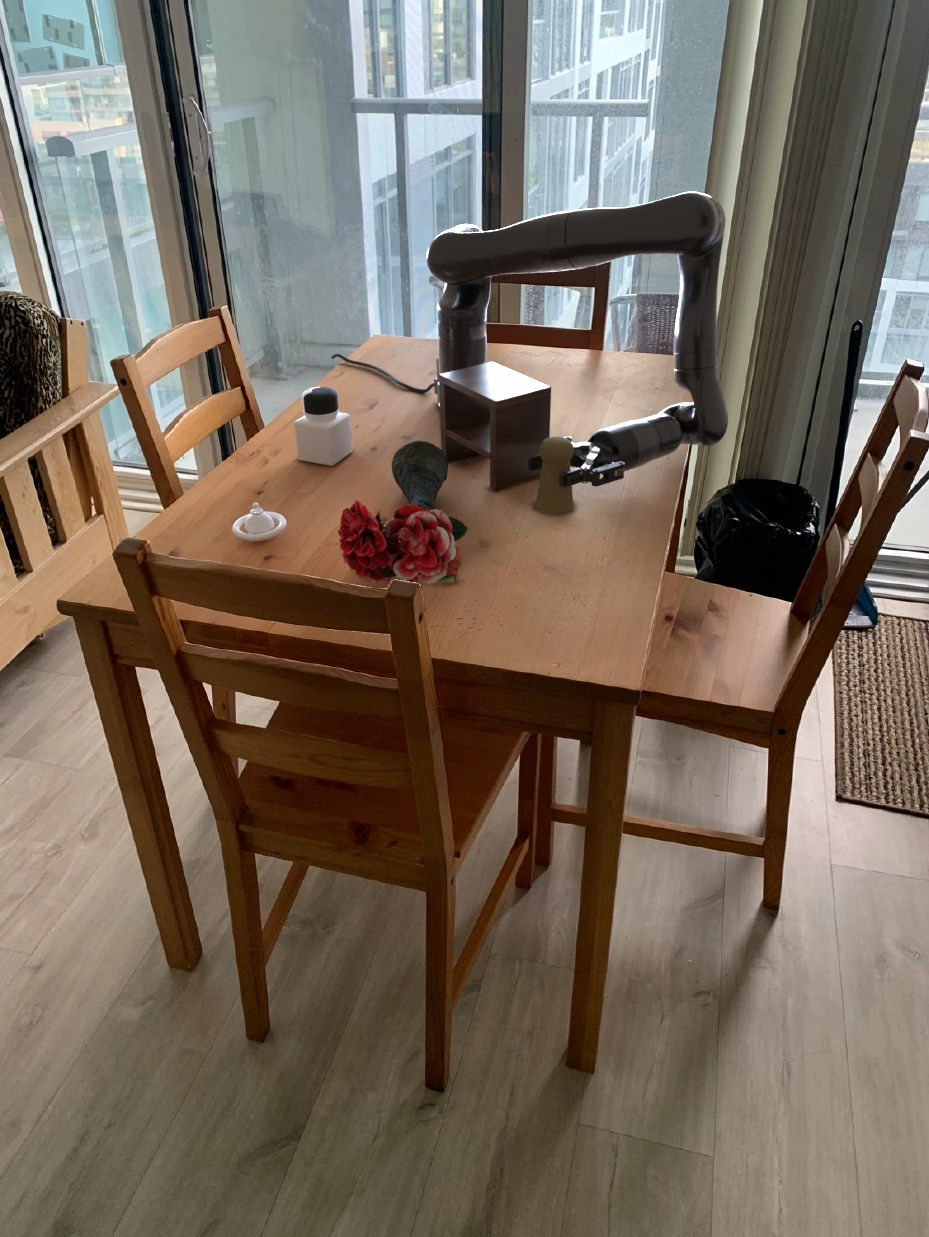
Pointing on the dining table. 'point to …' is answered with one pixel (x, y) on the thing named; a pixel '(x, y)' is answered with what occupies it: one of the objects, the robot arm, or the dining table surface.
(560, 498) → the cork
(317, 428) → the medicine bottle
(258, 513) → the ring around a ball
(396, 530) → the carnation
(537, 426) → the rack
